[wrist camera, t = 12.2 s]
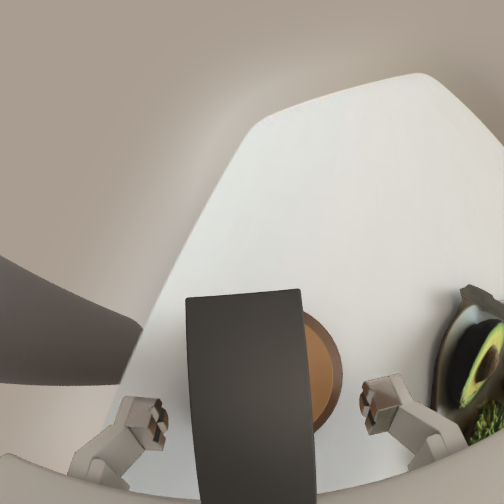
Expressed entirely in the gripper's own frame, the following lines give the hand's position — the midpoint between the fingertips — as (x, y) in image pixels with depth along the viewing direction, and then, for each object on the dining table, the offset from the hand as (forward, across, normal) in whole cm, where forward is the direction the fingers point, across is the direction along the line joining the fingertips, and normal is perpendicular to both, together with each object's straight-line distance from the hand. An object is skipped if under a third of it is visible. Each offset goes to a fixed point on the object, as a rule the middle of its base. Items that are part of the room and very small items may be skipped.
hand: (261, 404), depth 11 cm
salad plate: (+4, +20, -11) cm, 23 cm away
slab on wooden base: (+7, 0, -6) cm, 9 cm away
